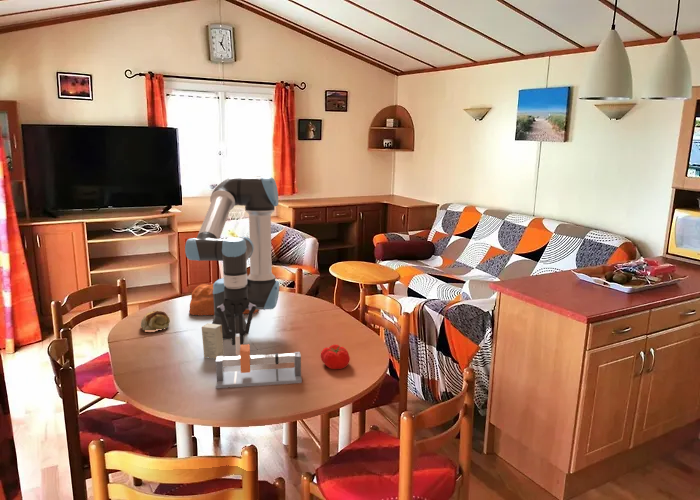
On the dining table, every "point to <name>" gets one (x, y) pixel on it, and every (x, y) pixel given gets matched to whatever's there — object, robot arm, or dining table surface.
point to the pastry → (155, 320)
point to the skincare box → (212, 340)
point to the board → (259, 378)
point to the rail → (259, 362)
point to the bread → (205, 301)
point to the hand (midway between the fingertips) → (238, 353)
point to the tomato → (335, 357)
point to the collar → (245, 358)
